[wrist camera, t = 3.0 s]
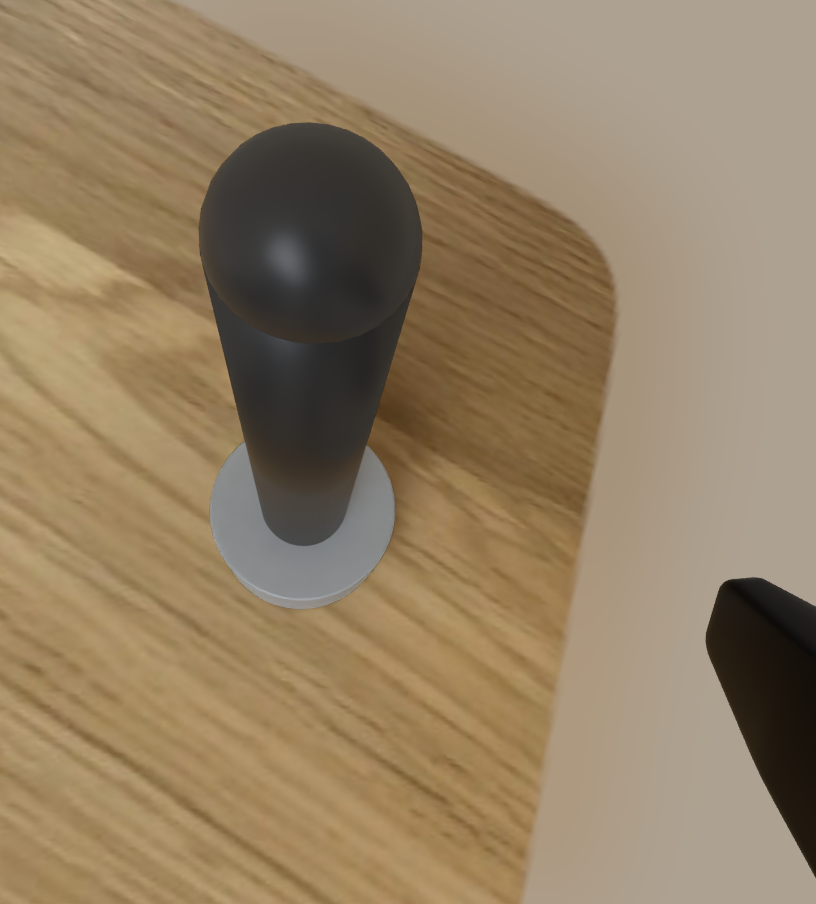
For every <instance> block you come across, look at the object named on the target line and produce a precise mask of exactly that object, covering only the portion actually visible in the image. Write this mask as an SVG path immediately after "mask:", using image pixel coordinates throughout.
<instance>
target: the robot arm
mask: <svg viewBox="0 0 816 904" xmlns="http://www.w3.org/2000/svg"><path fill="white" fill-rule="evenodd" d="M706 647H707V651H708V654H709V657H710V660H711V662H712V664H713V667H714V669H715V672H716V674H717V676H718V679H719V681H720V683H721V686H722V688H723V690H724V692H725V695H726V697H727V700H728V702H729V705H730V707H731V709H732V711H733V714H734V716H735V719H736V721H737V723H738V726H739V728H740V730H741V733H742V735H743V738H744V740H745V742H746V744H747V747H748V749H749V752H750V754H751V756H752V758H753V760H754V763H755V765H756V767H757V769H758V771H759V774H760V776H761V778H762V780H763V782H764V784H765V785H766V787H767V789H768V791H769V793H770V795H771V797H772V799H773V801H774V803H775V804H776V806H777V808H778V810H779V812H780V814H781V815H782V817H783V819H784V821H785V822H786V824H787V826H788V828H789V830H790V832H791V834H792V835H793V837H794V839H795V841H796V842H797V845H798V846H799V848H800V850H801V852H802V853H803V855H804V857H805V859H806V861H807V863H808V865H809V867H810V868H811V870H812V872H813V874H814V876H815V877H816V606H813V605H811V604H810V603H808V602H806V601H804V600H802V599H800V598H798V597H797V596H795V595H793V594H791V593H789V592H787V591H785V590H783V589H781V588H780V587H778V586H776V585H774V584H772V583H770V582H768V581H766V580H764V579H762V578H755V577H754V578H742V579H731V580H728V581H725V582H724V583H723V584H722V585H721V586H720V588H719V591H718V594H717V598H716V601H715V604H714V608H713V611H712V614H711V618H710V621H709V625H708V628H707V632H706Z"/></svg>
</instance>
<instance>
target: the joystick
mask: <svg viewBox="0 0 816 904" xmlns="http://www.w3.org/2000/svg"><path fill="white" fill-rule="evenodd" d="M199 245H200V256H201V261H202V264H203V269H204V273H205V277H206V281H207V285H208V290H209V294H210V298H211V302H212V306H213V310H214V315H215V319H216V323H217V327H218V331H219V335H220V340H221V344H222V348H223V352H224V356H225V360H226V365H227V369H228V373H229V377H230V381H231V385H232V390H233V394H234V398H235V402H236V406H237V410H238V415H239V419H240V423H241V427H242V431H243V435H244V440H245V441H244V442H243V443H241V444H240V445H239V446H238V447H237V448H236V449H235V450H234V451H233V452H232V453H231V455H230V456H229V457H228V458H227V460H226V461H225V463H224V464H223V466H222V468H221V470H220V472H219V474H218V475H217V478H216V481H215V484H214V486H213V490H212V495H211V500H210V522H211V528H212V533H213V537H214V539H215V542H216V545H217V548H218V549H219V551H220V553H221V555H222V557H223V559H224V560H225V562H226V563H227V564H228V566H229V567H230V569H231V570H232V572H233V573H234V574H235V576H236V577H237V579H238V580H239V581H240V582H241V583H242V584H243V585H244V586H245V587H246V588H247V589H248V590H249V591H251V592H252V593H253V594H254V595H256V596H258V597H259V598H261V599H263V600H265V601H267V602H269V603H272V604H274V605H278V606H281V607H285V608H293V609H310V608H318V607H321V606H325V605H329V604H331V603H334V602H336V601H338V600H340V599H342V598H344V597H345V596H347V595H349V594H350V593H351V592H353V591H354V590H355V589H357V588H358V587H359V586H360V585H361V584H362V583H363V582H364V581H365V579H366V578H367V577H368V575H369V574H370V573H371V571H372V570H373V569H374V567H375V566H376V565H377V563H378V562H379V561H380V559H381V558H382V556H383V554H384V552H385V551H386V549H387V546H388V544H389V542H390V539H391V536H392V532H393V529H394V522H395V497H394V491H393V488H392V484H391V481H390V478H389V476H388V473H387V471H386V469H385V467H384V466H383V464H382V462H381V461H380V459H379V458H378V457H377V455H376V454H375V453H374V451H373V450H372V449H371V448H370V447H369V446H368V445H367V441H368V438H369V435H370V432H371V428H372V425H373V422H374V418H375V415H376V412H377V408H378V405H379V402H380V398H381V395H382V392H383V388H384V385H385V382H386V379H387V375H388V372H389V369H390V365H391V362H392V359H393V355H394V352H395V349H396V345H397V342H398V339H399V335H400V332H401V329H402V326H403V322H404V319H405V316H406V312H407V309H408V306H409V302H410V299H411V296H412V292H413V289H414V286H415V282H416V279H417V276H418V272H419V269H420V263H421V255H422V227H421V222H420V217H419V212H418V208H417V204H416V201H415V199H414V196H413V194H412V192H411V189H410V187H409V184H408V183H407V182H406V180H405V179H404V177H403V176H402V174H401V173H400V171H399V170H398V168H397V167H396V166H395V165H394V163H393V162H392V161H391V160H390V159H389V158H388V157H387V156H386V155H385V154H384V153H383V152H382V151H381V150H380V149H379V148H378V147H376V146H375V145H374V144H372V143H371V142H369V141H368V140H366V139H365V138H363V137H361V136H359V135H357V134H355V133H353V132H351V131H349V130H346V129H342V128H339V127H335V126H332V125H328V124H319V123H310V122H309V123H291V124H286V125H282V126H277V127H273V128H271V129H268V130H266V131H263V132H261V133H259V134H256V135H255V136H253V137H252V138H250V139H249V140H247V141H246V142H244V143H243V144H241V145H240V146H239V147H238V148H237V149H236V150H235V151H234V152H233V153H232V154H231V155H230V156H229V157H228V158H227V159H226V160H225V161H224V162H223V163H222V164H221V166H220V167H219V169H218V171H217V172H216V174H215V175H214V177H213V178H212V180H211V182H210V185H209V188H208V191H207V194H206V197H205V199H204V202H203V205H202V208H201V213H200V221H199Z"/></svg>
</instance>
